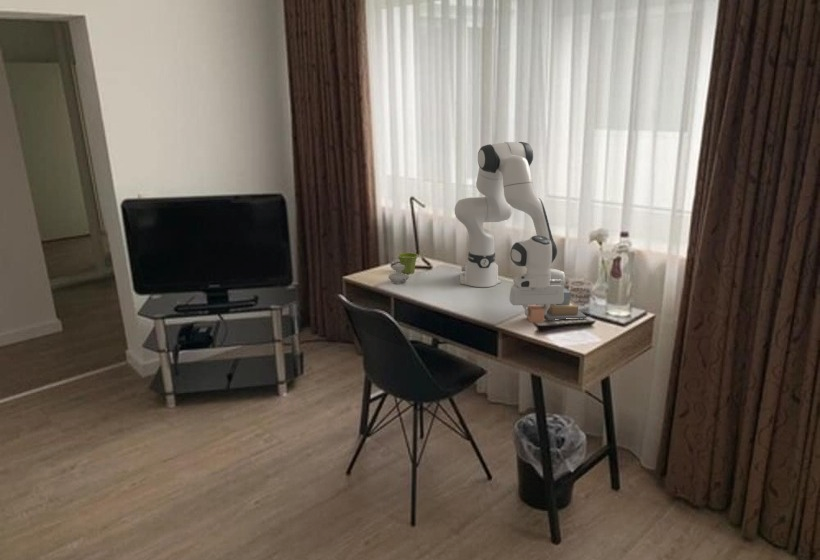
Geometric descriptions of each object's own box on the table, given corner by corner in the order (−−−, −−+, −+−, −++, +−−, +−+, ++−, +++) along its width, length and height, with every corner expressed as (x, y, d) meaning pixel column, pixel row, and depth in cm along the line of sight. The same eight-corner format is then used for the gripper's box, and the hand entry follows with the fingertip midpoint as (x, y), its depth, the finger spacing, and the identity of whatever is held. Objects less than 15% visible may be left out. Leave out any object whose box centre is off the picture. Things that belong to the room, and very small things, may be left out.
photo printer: (537, 297, 252) (539, 269, 249) (539, 294, 256) (541, 266, 252) (562, 300, 248) (564, 272, 245) (564, 297, 252) (566, 269, 248)
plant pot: (407, 276, 280) (407, 258, 278) (393, 272, 287) (393, 254, 284) (421, 272, 286) (421, 255, 284) (408, 268, 293) (408, 251, 290)
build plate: (535, 307, 240) (536, 297, 239) (571, 306, 242) (572, 296, 240) (548, 320, 226) (548, 309, 225) (586, 319, 227) (587, 308, 226)
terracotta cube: (526, 317, 229) (527, 305, 227) (539, 317, 229) (540, 304, 228) (530, 322, 224) (531, 309, 223) (543, 321, 225) (544, 309, 223)
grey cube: (552, 300, 235) (553, 288, 233) (564, 300, 235) (565, 288, 234) (557, 305, 230) (558, 292, 228) (569, 304, 230) (570, 292, 229)
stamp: (410, 283, 270) (410, 265, 268) (401, 286, 266) (401, 268, 263) (396, 279, 276) (396, 261, 274) (386, 282, 271) (386, 264, 269)
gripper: (562, 276, 226) (559, 311, 230) (509, 278, 224) (507, 312, 228) (568, 281, 220) (565, 316, 224) (514, 283, 218) (511, 318, 222)
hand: (535, 314), depth 226 cm, fingers closed on terracotta cube, 5 cm apart
